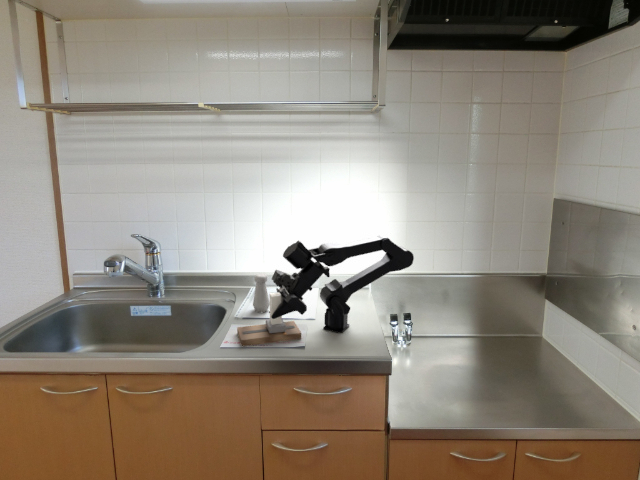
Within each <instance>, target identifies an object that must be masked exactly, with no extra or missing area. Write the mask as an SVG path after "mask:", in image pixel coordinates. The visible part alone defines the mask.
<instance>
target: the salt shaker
mask: <svg viewBox="0 0 640 480" xmlns="http://www.w3.org/2000/svg"><path fill="white" fill-rule="evenodd" d="M267 281H268V275H266V273H265V274H263V273H258V274H256V275H255V276H254V282H255V291H254V294H253V295H254V296H253V301H252V306H253V308H254V310H255V312H257V313H261V312H263V313H265V311H266V312H268V310H269V309H270V296H269V294H268V289H267V285H266V283H267Z"/></svg>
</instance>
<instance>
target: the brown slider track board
mask: <svg viewBox="0 0 640 480" xmlns="http://www.w3.org/2000/svg"><path fill="white" fill-rule="evenodd" d="M284 323H285V325H286V332H278V333H269V331H268V329H267V327H266V323H263V324H256V325H246V326H240V327H239V326H238V327H236V330H237V331H236V332H237V336H238V340H239V343H240V346H241V347H247V346H256V345H264V344H272V343H281V342H286V341H288V342H289V341H295V340H302V332H301V330H300V328H299V327H298V325H297V323H296V322H295V320H289V321H284Z"/></svg>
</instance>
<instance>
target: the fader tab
mask: <svg viewBox="0 0 640 480" xmlns="http://www.w3.org/2000/svg"><path fill="white" fill-rule="evenodd" d="M269 302H270V305H269V311H270V313H269V318H266V319H265V324H266V327H267V329H268V331H269V333H278V332H286V325H285V323H284V322H285V321H284V320H283V318H282V316H280V317H278V318H275V319H273V318H272V317H271V316H272V314H273V313H274V311H275V310H276V309H277V307H278V306H279V305H280V303H281V294H280V293H279V292H277V291H276V292H269Z"/></svg>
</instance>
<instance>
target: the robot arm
mask: <svg viewBox="0 0 640 480" xmlns="http://www.w3.org/2000/svg"><path fill="white" fill-rule="evenodd" d="M380 251H383V252H384V255H383V257H381V259H380V260H379V261H376V262H375V263H373V264H372V265H369V266H368V267H366V268H364V269H362V270H361V271H359V272H358V273H356V274H354V275H353V276H351V277H348V278H347V279H346V280H344V281H339V280H338V279H337V278H334V279H332V280H331V281H329V282H328V283H324V287H322V288H321V289H320V292H319V297H320V300H321V302H323V303H324V304H325V306H326V309H325V312H324V326H323V328H322V329H323V330H326V331H330V332H335V333H339V334H342V333H344V332H345V331H346V330H348V328H349V327H350V323H348V318H349V317H348V316H349V313H350V311H351V306H350V305H349V304H347V302H348V301H349V300H350V298H351V296H352V295H353V294H355V293H356V292H358V291H360V290H362V289H363V288H365V287H367V286H368V285H370V284H372V283H374V282H375V281H376V280H379V279H380V278H382V277H384V276H385V275H387V274H388V273H391V272H398V271H402V270H405V269H407V268H410V267H411V266H412V265H413V262H414V259H415V257H414V254H413V252H412V251H410V250H409V249H407V248H404V247H403V246H401V245H397V244H396V243H394V242H393V241H392V240H391V239H390V238H389V237H386V236H385V235H378V236H375V237H371V238H366V239H365V238H364V239H362V240H357V241H352V242H351V241H350V242H347V243H337V242H336V243H333V242H332V243H331V242H330V243H329V242H328V243H322V244H320V245H319V246H318V247H314V248H310V249H308V248H307V247H306V246H305V245H304V244H303V243H302V241H301V240H297V241H296V242H294V243H292V244H291V245H288V246H287V248H286V249H285V251H283V253H282V257H283V258H284V259H285V260H286V261H287V262H289V263H290V265H291V266H293V267H294V268H295V269H296V270H299V269H300V270H299V271H298V273H297V272H293V273H292V274H289V273H287V272H284V271H281V270H279V269H275V270H274V272H273V274H272V277H271V281H272V282H273V283H274V284H275V285H276V288H275V289H276V293H277V292H279V293H280V294H281V303H280V305H279V306H278V307H277V309H276V310H275V311H274V313H273V314H272V316H271V317H272V318H273V319H275V318H278V317H280V316H285V315H288V314H290V313H293V312H297V313H299V314H300V315H302V316H303V315H304V314H305V313H306V312H307V309H308V307H307V304H306V303H305V301H303V300H304V298H303V296H304V295H305V294H306V293H307V292H308V291H310V292H311V291H312V290H313V288H312V286H313V285H314V284H316V282H317V281H318V280H319V279H320V278H321V276H323V275H324V276H325V277H326V278H330V267H334V266H337V265H339V264H341V263H343V262H345V261H346V260H347V259H350V258H354V257H357V256H361V255H366V254H371V253H376V252H380ZM312 258H313V259H314V260H315V262H314V260H312ZM322 263H323V264H324V265H325V266H324V265H323V264H322ZM277 287H279V288H277ZM268 313H269V314H270V310H269V311H268Z"/></svg>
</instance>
